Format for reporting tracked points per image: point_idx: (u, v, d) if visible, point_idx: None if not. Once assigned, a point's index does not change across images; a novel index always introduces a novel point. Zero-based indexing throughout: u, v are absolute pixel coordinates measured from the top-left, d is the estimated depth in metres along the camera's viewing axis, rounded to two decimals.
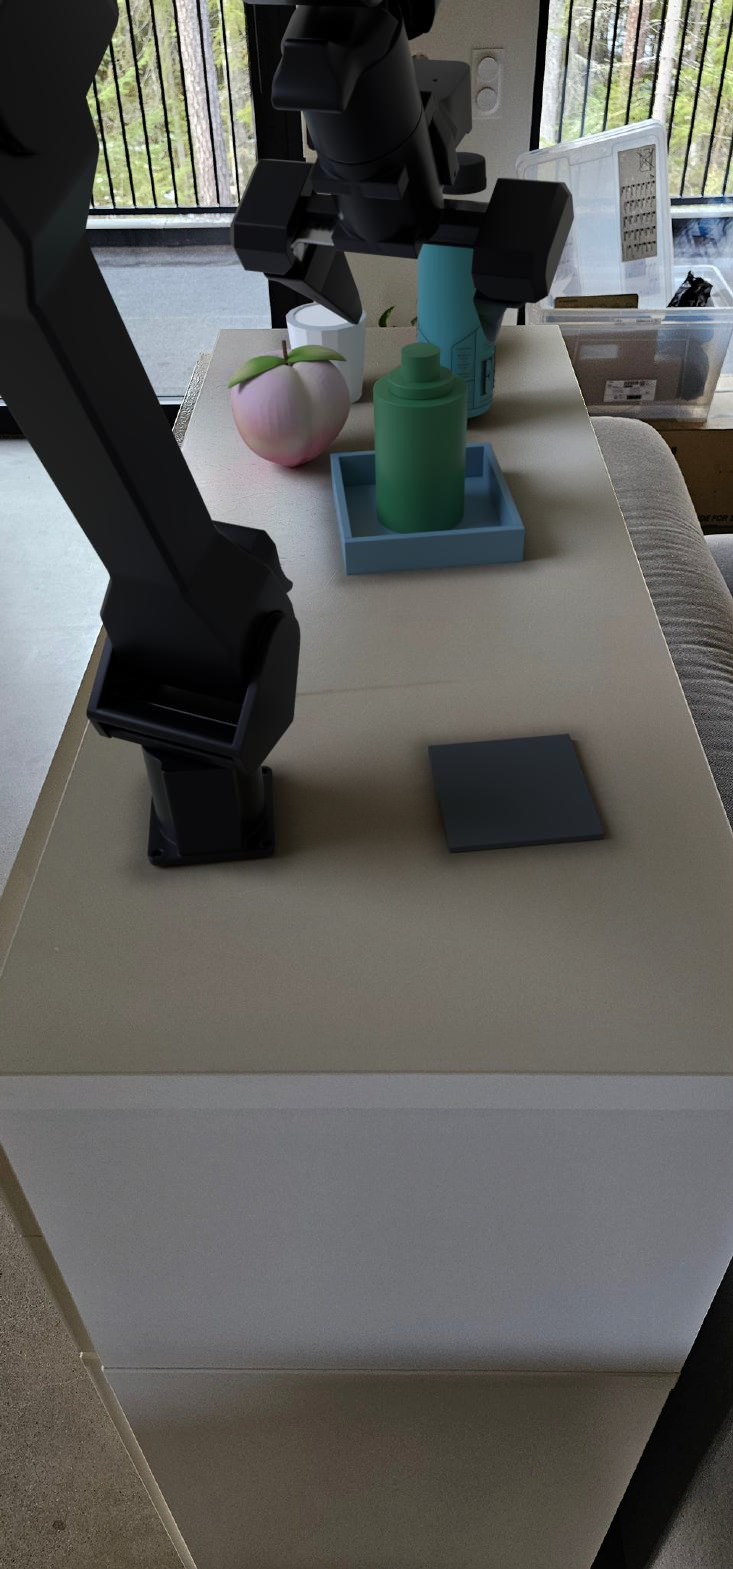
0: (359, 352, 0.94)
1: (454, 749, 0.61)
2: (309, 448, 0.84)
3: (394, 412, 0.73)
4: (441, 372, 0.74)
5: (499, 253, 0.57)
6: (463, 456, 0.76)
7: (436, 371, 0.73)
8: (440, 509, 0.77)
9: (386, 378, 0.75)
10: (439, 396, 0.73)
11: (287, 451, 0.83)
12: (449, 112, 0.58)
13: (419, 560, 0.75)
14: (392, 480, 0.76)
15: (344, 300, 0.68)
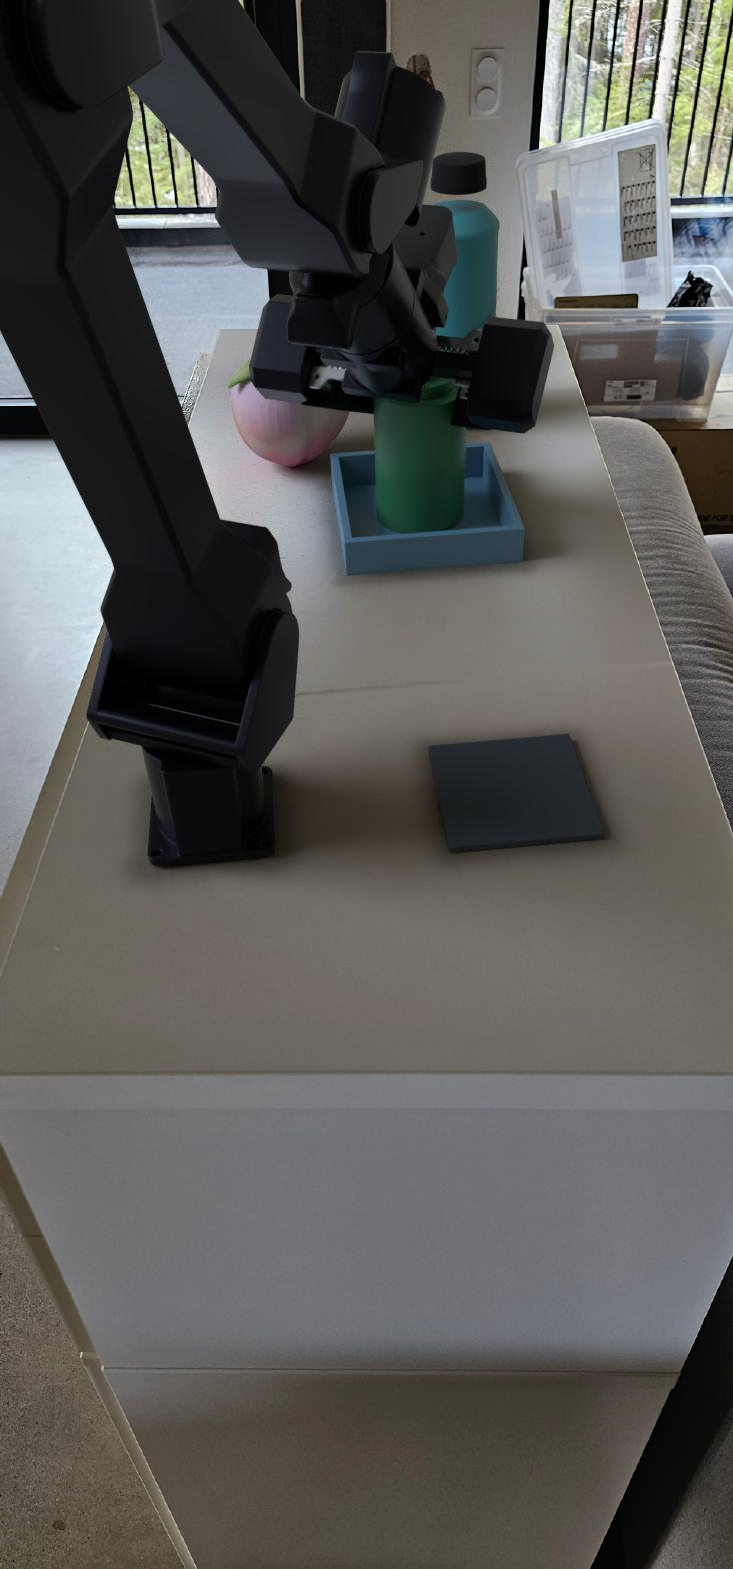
0: None
1: (454, 749, 0.61)
2: (309, 448, 0.84)
3: (394, 412, 0.73)
4: None
5: (490, 401, 0.65)
6: (463, 456, 0.76)
7: None
8: (440, 509, 0.77)
9: None
10: (439, 396, 0.73)
11: (287, 451, 0.83)
12: (437, 268, 0.65)
13: (419, 560, 0.75)
14: (392, 480, 0.76)
15: (369, 403, 0.75)
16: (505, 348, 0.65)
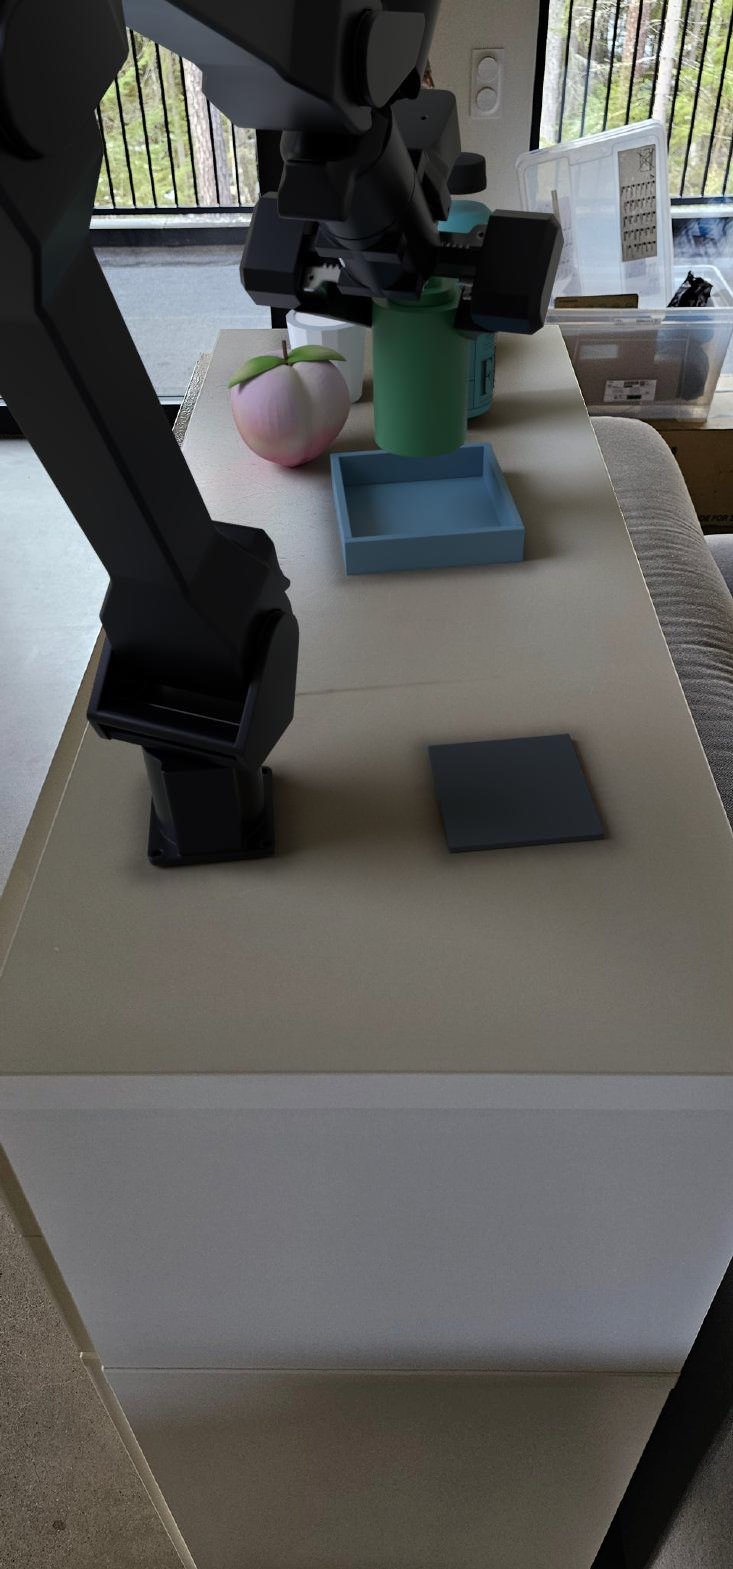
0: (359, 352, 0.94)
1: (454, 749, 0.61)
2: (309, 448, 0.84)
3: (393, 320, 0.69)
4: (443, 279, 0.70)
5: (495, 296, 0.61)
6: (466, 372, 0.72)
7: (438, 277, 0.69)
8: (441, 428, 0.73)
9: None
10: (440, 303, 0.69)
11: (287, 451, 0.83)
12: (439, 153, 0.61)
13: (419, 560, 0.75)
14: (391, 396, 0.72)
15: (367, 314, 0.71)
16: (512, 240, 0.61)
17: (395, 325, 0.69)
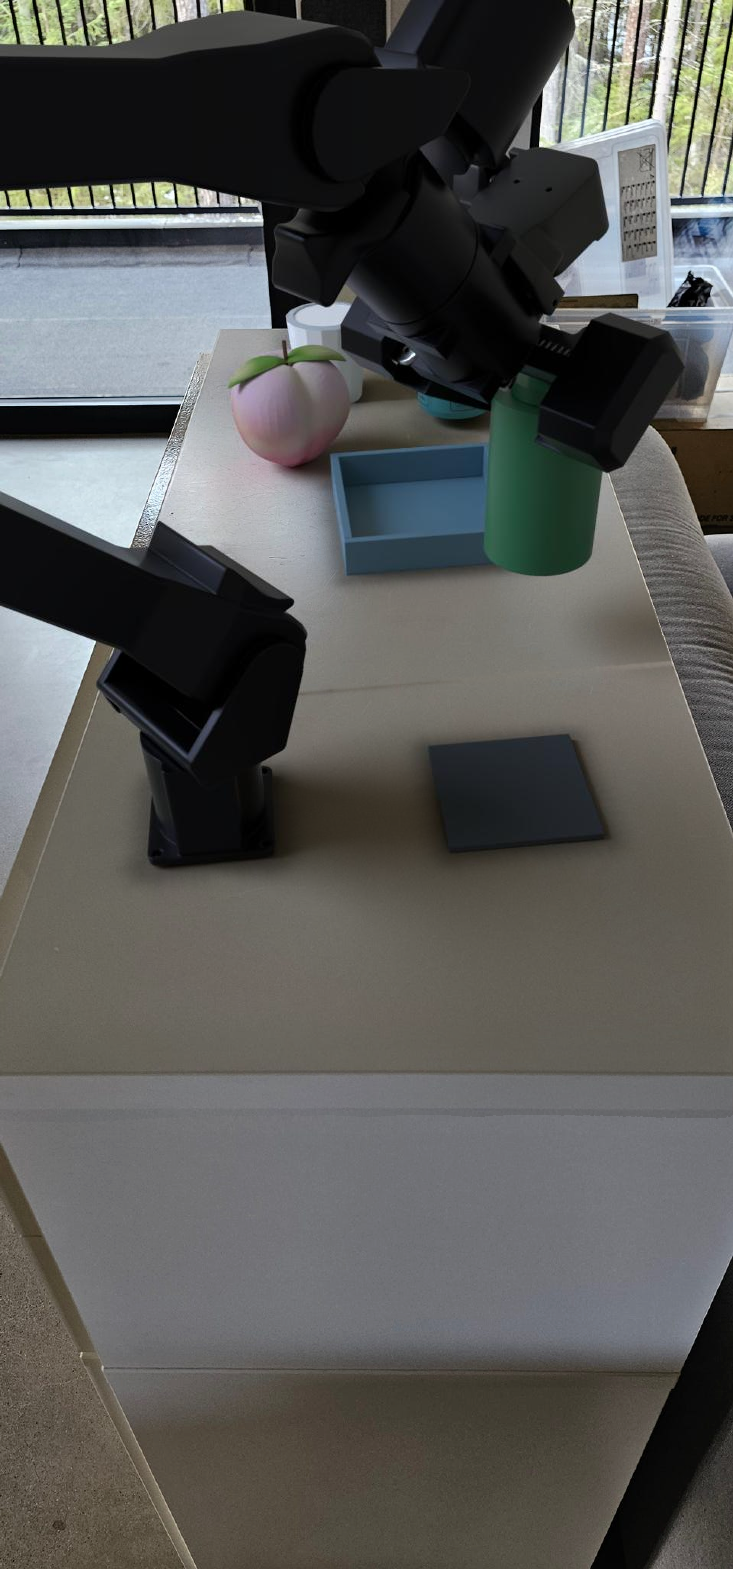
0: None
1: (454, 749, 0.61)
2: (309, 448, 0.84)
3: (500, 414, 0.58)
4: None
5: (562, 419, 0.49)
6: (587, 489, 0.60)
7: None
8: (542, 547, 0.62)
9: None
10: None
11: (287, 451, 0.83)
12: (549, 235, 0.49)
13: (419, 560, 0.75)
14: (493, 497, 0.62)
15: None
16: (603, 355, 0.49)
17: (501, 420, 0.58)
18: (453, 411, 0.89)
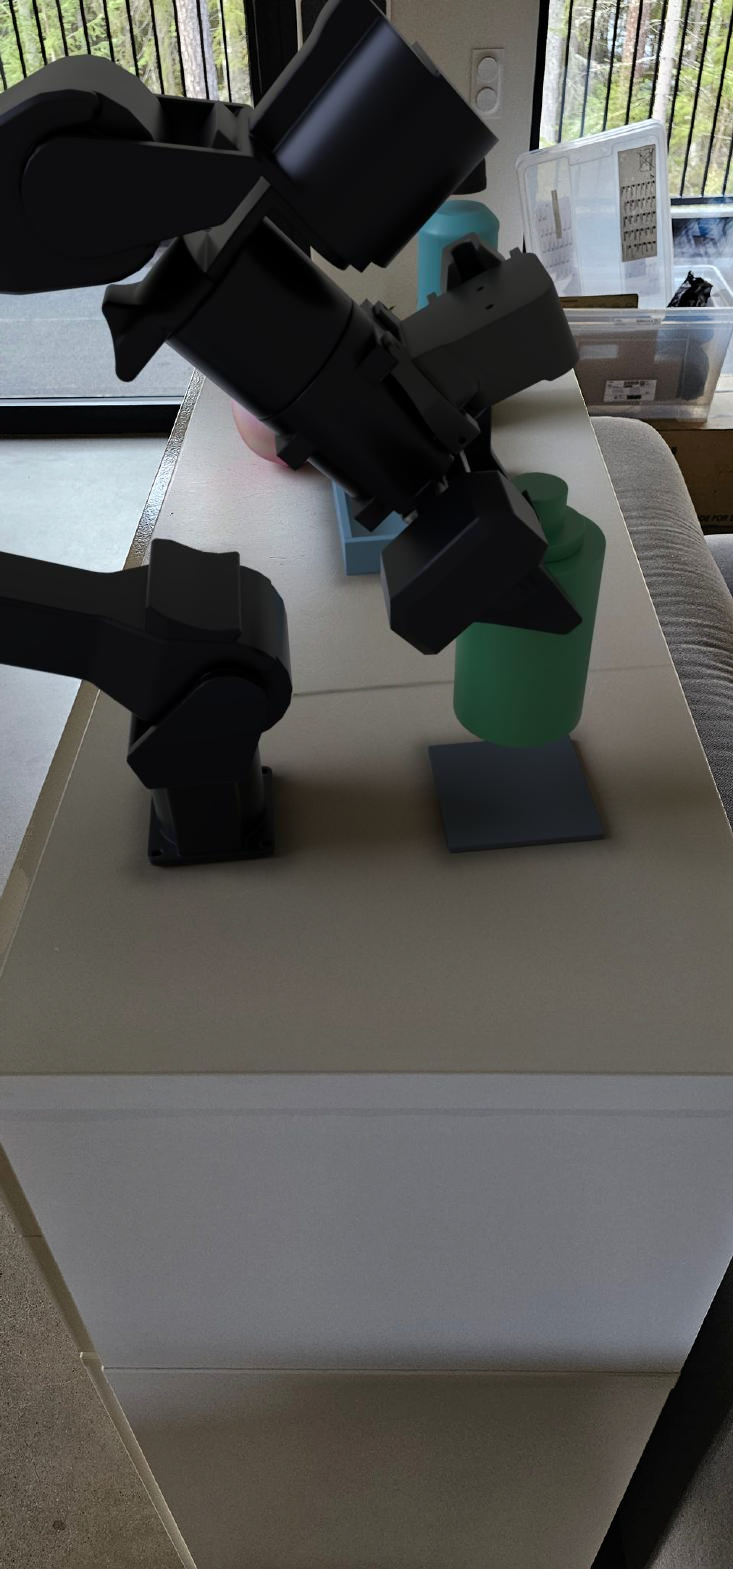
0: None
1: (454, 749, 0.61)
2: None
3: None
4: (558, 534, 0.47)
5: (384, 576, 0.41)
6: (537, 663, 0.49)
7: None
8: (482, 707, 0.52)
9: None
10: None
11: None
12: (460, 361, 0.41)
13: None
14: None
15: None
16: (443, 518, 0.40)
17: None
18: None
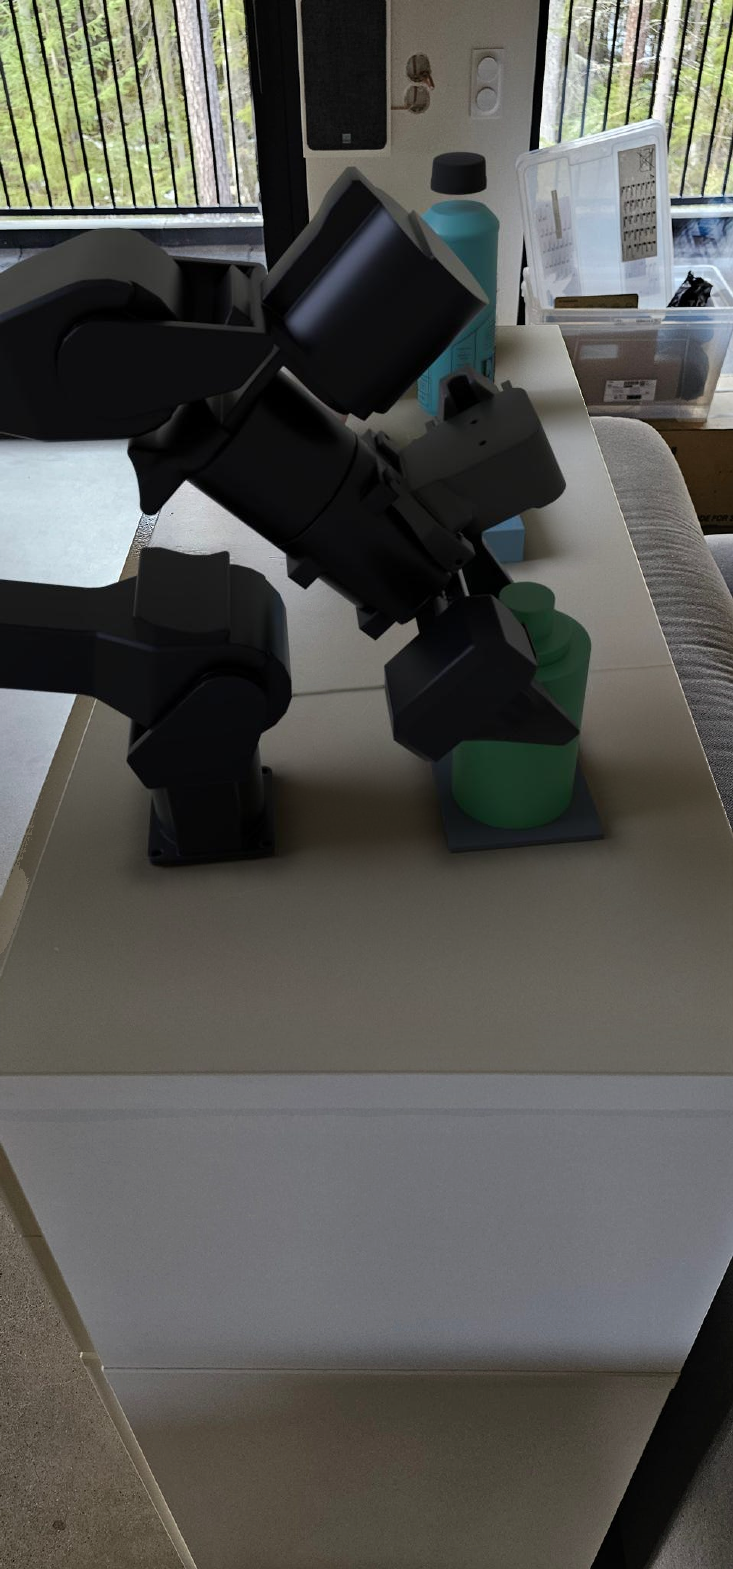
0: None
1: None
2: None
3: None
4: (547, 640, 0.51)
5: (388, 690, 0.45)
6: (529, 756, 0.53)
7: None
8: (478, 793, 0.56)
9: None
10: None
11: None
12: (456, 493, 0.44)
13: None
14: None
15: None
16: (441, 641, 0.43)
17: None
18: None
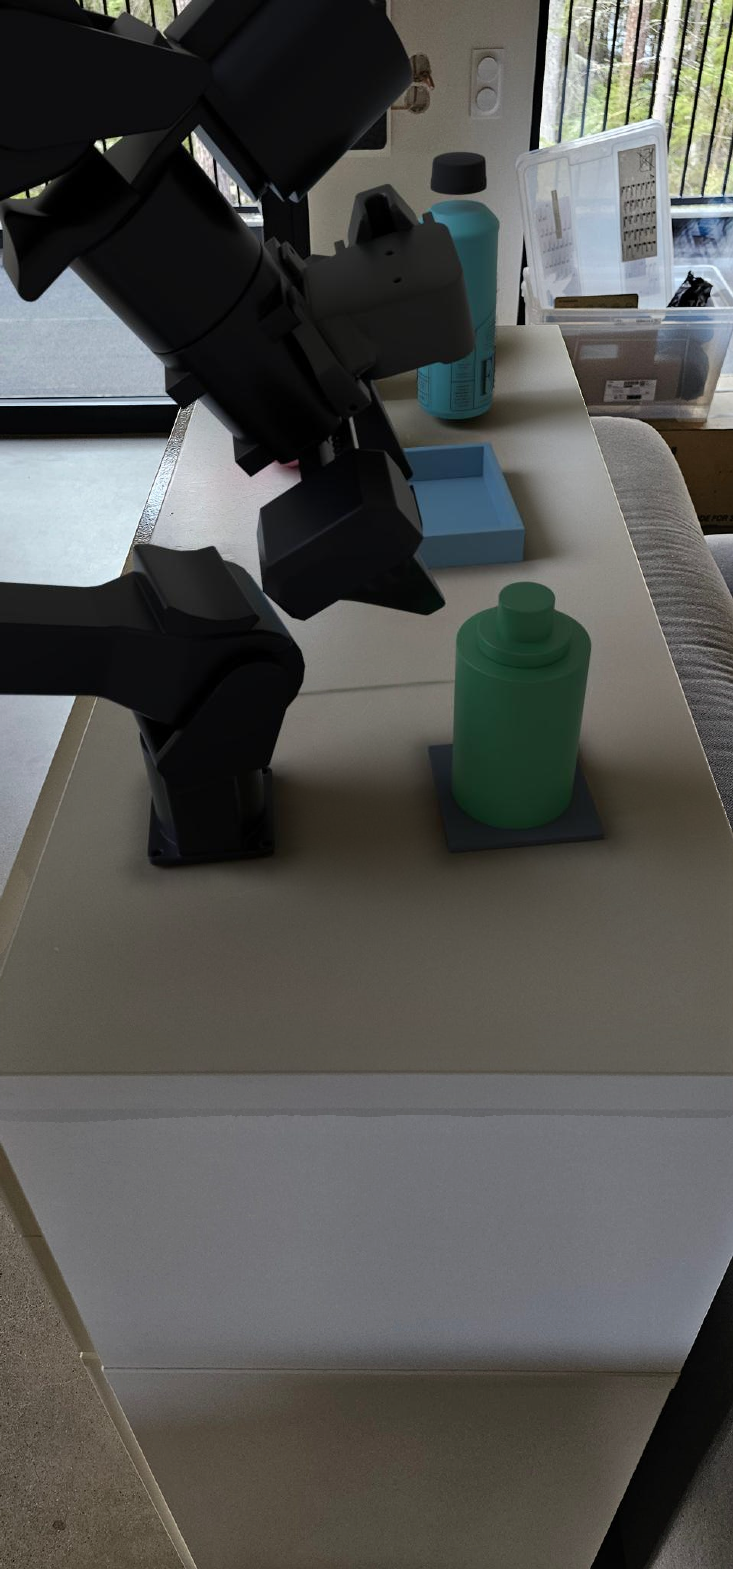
0: None
1: None
2: None
3: None
4: (547, 640, 0.51)
5: (262, 536, 0.42)
6: (529, 756, 0.53)
7: (523, 633, 0.50)
8: (478, 793, 0.56)
9: None
10: (503, 663, 0.51)
11: None
12: (362, 332, 0.41)
13: None
14: None
15: None
16: (327, 494, 0.41)
17: None
18: (453, 411, 0.89)
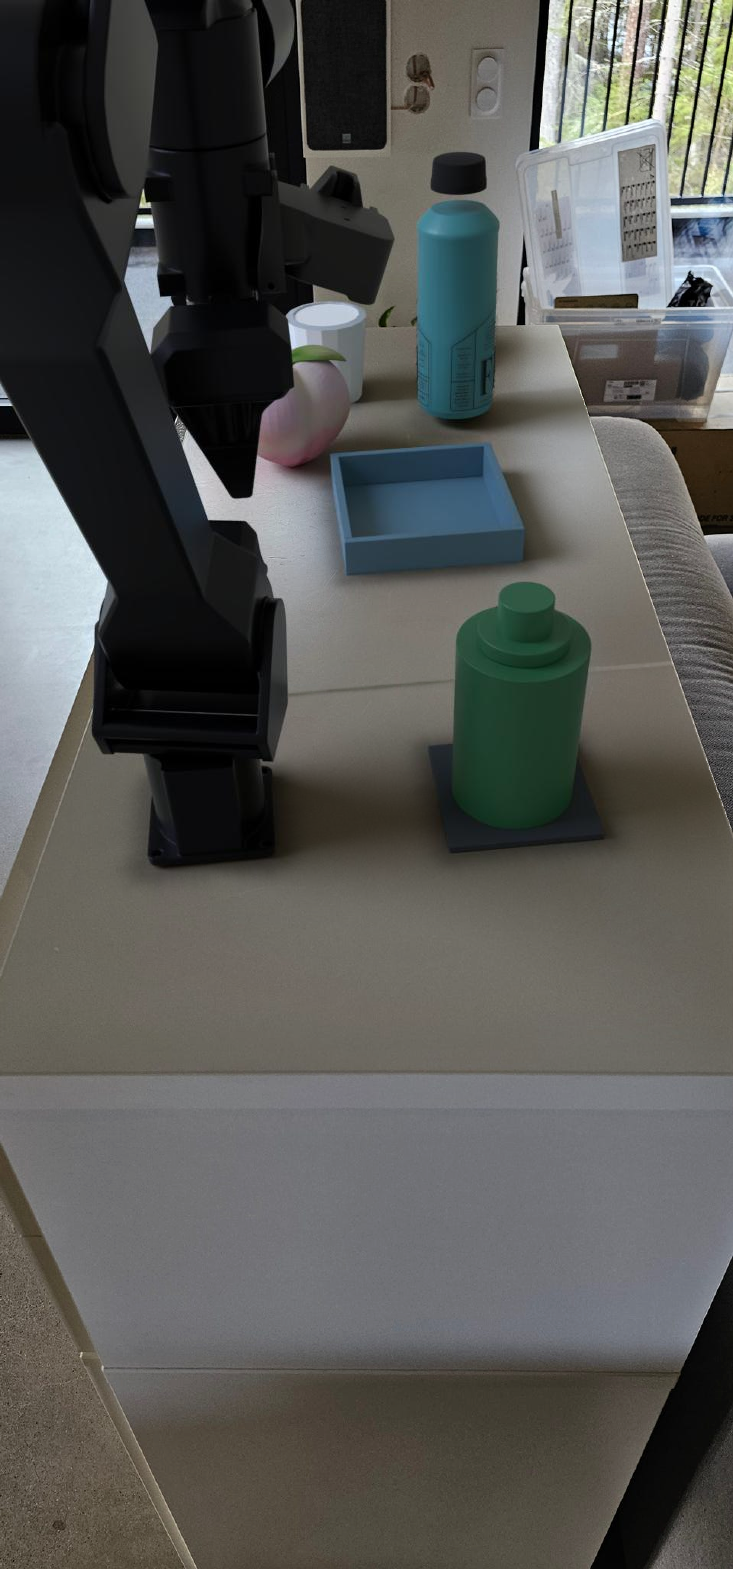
0: (359, 352, 0.94)
1: None
2: (309, 448, 0.84)
3: None
4: (547, 640, 0.51)
5: (166, 321, 0.49)
6: (529, 756, 0.53)
7: (523, 633, 0.50)
8: (478, 793, 0.56)
9: None
10: (503, 663, 0.51)
11: (287, 451, 0.83)
12: (308, 233, 0.51)
13: (419, 560, 0.75)
14: None
15: None
16: (237, 314, 0.49)
17: None
18: (453, 411, 0.89)
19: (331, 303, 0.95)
